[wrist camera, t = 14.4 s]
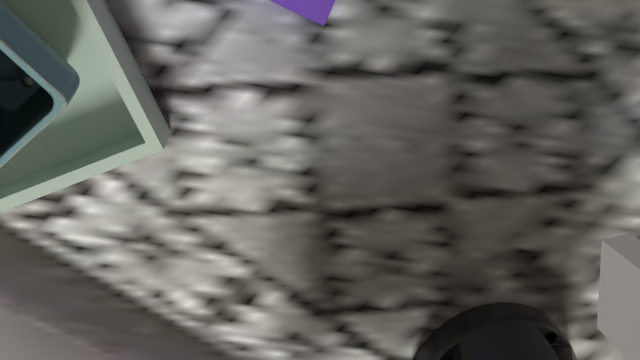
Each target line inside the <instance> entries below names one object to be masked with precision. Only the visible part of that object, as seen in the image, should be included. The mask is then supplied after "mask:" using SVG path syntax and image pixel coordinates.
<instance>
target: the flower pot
mask: <svg viewBox="0 0 640 360" xmlns="http://www.w3.org/2000/svg"><path fill="white" fill-rule="evenodd" d="M26 77H29V78H31V79H32V81H33V84H32V85H26V84H25V82H24V79H25V78H26ZM79 84H80V78H79V75H78V73H77V72H76V71H75V69H74V68H73V67H72V66H71V65H70V64H69V63H68V62H67V61H66V60H64V59H63V58H62V57H61V56H60V55H59V54H58V53H57V52H56V51H55V50H54V49H53V48H52V47H51V46H50V45H49V44H48V43H47V42H46V41H45V40H44V39H42V38H41V37H40V36H39V35H38V34H37V33H36V32H35V31H34V30H33V29H32V28H31V27H30V26H29V25H28V24H27V23H26V22H25V21H24V20H23V19H22V18H21V17H20V16H18V15H17V14H16V13H15V12H14V11H13V10H12V9H11V8H10V7H9V6H8V5H7V4H6V3H5V2H4V1H3V0H0V168H1V167H2V166H3V165H4V164H5V163H6V162H7V161H8V160H9V159H10V158H11V157H13V156H14V155H15V154H16V153H17V152H18V151H19V150H20V149H22V148H23V147H24V146H25V145H26V144H27V143H28V142H29V141H30V140H32V139H33V138H34V137H35V136H36V135H37V134H38V133H39V132H40V131H41V130H43V129H44V128H45V127H46V126H47V125H48V124H49V123H50V122H52V121H53V119H55V118H56V117H57V116H58V115H60V114H61V113H62V112H63V111H64V110H65V108H66V107H67V105H68V104H69V102H70V101H71V99H72V98H73V96H74V94H75V93H76V91H77V89H78V87H79Z"/></svg>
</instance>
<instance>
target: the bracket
mask: <svg viewBox="0 0 640 360" xmlns="http://www.w3.org/2000/svg"><path fill="white" fill-rule="evenodd" d="M270 1H272V2H274V3H276V4H278V5H280V6H282V7H284V8H286V9H288V10H291V11H293V12H295V13H297V14H299V15H301V16H304V17H306V18H308V19H310V20H312V21H315V22H317V23H319V24H321V25H323V26H324V24H325V22H326V20H327V18H328V15H329V13H330V11H331V9H332V7H333V4H334V2H335V0H270Z"/></svg>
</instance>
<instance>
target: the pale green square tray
mask: <svg viewBox="0 0 640 360" xmlns="http://www.w3.org/2000/svg"><path fill="white" fill-rule="evenodd" d="M3 1H4V2H5V3H6V4H7V5H8V6H9V7H10V8H11V9H12V10H13V11H14V12H15V13H16V14H17V15H18V16H20V17H21V18H22V19H23V20H24V21H25V22H26V23H27V24H28V25H29V26H30V27H31V28H32V29H33V30H34V31H35V32H36V33H37V34H38V35H39V36H40V37H41V38H42V39H44V40H45V41H46V42H47V43H48V44H49V45H50V46H51V47H52V48H53V49H54V50H55V51H56V52H57V53H58V54H59V55H60V56H61V57H62V58H63V59H64V60H66V61H67V62H68V63H69V64H70V65H71V66H72V67H73V68H74V69H75V71H76V72H77V73H78V75H79V78H80V84H79V87H78V89H77V91H76V93H75V94H74V96H73V98H72V99H71V101H70V102H69V104H68V105H67V107H66V108H65V110H64V111H63V112H62V113H61V114H60V115H58V116H57V117H56V118H55V119H53V121H52V122H50V123H49V124H48V125H47V126H46V127H45V128H44V129H43V130H41V131H40V132H39V133H38V134H37V135H36V136H35V137H34V138H33V139H32V140H30V141H29V142H28V143H27V144H26V145H25V146H24V147H23V148H22V149H20V150H19V151H18V152H17V153H16V154H15V155H14V156H13V157H11V158H10V159H9V160H8V161H7V162H6V163H5V164H4V165H3V166H2V167H1V168H0V212H3V211H5V210H8V209H10V208H13V207H16V206H18V205H21V204H23V203H26V202H29V201H31V200H34V199H36V198H39V197H42V196H44V195H47V194H49V193H52V192H55V191H57V190H60V189H62V188H65V187H67V186H70V185H73V184H75V183H78V182H80V181H83V180H86V179H88V178H91V177H93V176H96V175H99V174H101V173H104V172H106V171H109V170H111V169H114V168H117V167H119V166H122V165H124V164H127V163H130V162H132V161H135V160H137V159H140V158H143V157H145V156H148V155H150V154H153V153H156V152H158V151H161V150H163V149H164V146H165V144H166V141H167V139H168V136H169V133H170V131H171V130H170V128H169V126H168V124H167V122H166V120H165V118H164V116H163V114H162V112H161V110H160V108H159V106H158V104H157V102H156V100H155V98H154V96H153V94H152V92H151V90H150V88H149V86H148V84H147V82H146V80H145V78H144V76H143V74H142V72H141V70H140V68H139V66H138V64H137V62H136V60H135V58H134V56H133V54H132V52H131V50H130V48H129V46H128V44H127V42H126V40H125V38H124V36H123V34H122V32H121V30H120V28H119V26H118V24H117V22H116V20H115V18H114V16H113V14H112V12H111V10H110V8H109V6H108V4H107V2H106V0H3ZM24 82H25V84H26V85H32V84H33V81H32V79H31V78H29V77H26V78H25V79H24Z"/></svg>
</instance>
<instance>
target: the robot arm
mask: <svg viewBox="0 0 640 360" xmlns="http://www.w3.org/2000/svg"><path fill="white" fill-rule="evenodd" d="M597 328H598V329H599V330H600V331H601V332H602V333H603V334H604V335H605V336H606V337H607V338H608V339H609V341H610V342H611V343H612V344H613V345H614V346H615V347H616V348H617V349H618V350H619V351H620V352H621V353H622V354H623V355H624V356H625V357H626V358H627V359H628V360H640V240H639V239H638V238H636V237H635V236H634V235H632V234H627V235H622V236H618V237H613V238H609V239H604V240H602V247H601V265H600V283H599V301H598V319H597ZM415 360H577V359H576V356H575V353H574V350H573V348H572V346H571V345H570V343H569V341H568V339H567V338H566V337H565V335H564V334H563V333H562V332H561V331H560V329H559V328H558V327H557V326H556V325H555V324H554V322H553V321H552V320H551V319H550V318H549V317H547V316H546V315H545V314H543V313H542V312H540V311H538V310H536V309H534V308H531V307H528V306H524V305H519V304H509V303H503V304H492V305H487V306H482V307H478V308H475V309H472V310H470V311H467V312H465V313H463V314H461V315H459V316H457V317H455V318H453V319H452V320H450V321H448V322H447V323H445V324H444V325H443V326H441V327H440V328H439V329H438V330H437V331H436V332H434V333H433V334H432V335H431V336H430V337H429V339H428V340H427V341H426V342H425V343H424V345H423V346H422V348H421V349H420V351H419V352H418V354H417V356H416V358H415Z"/></svg>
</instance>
